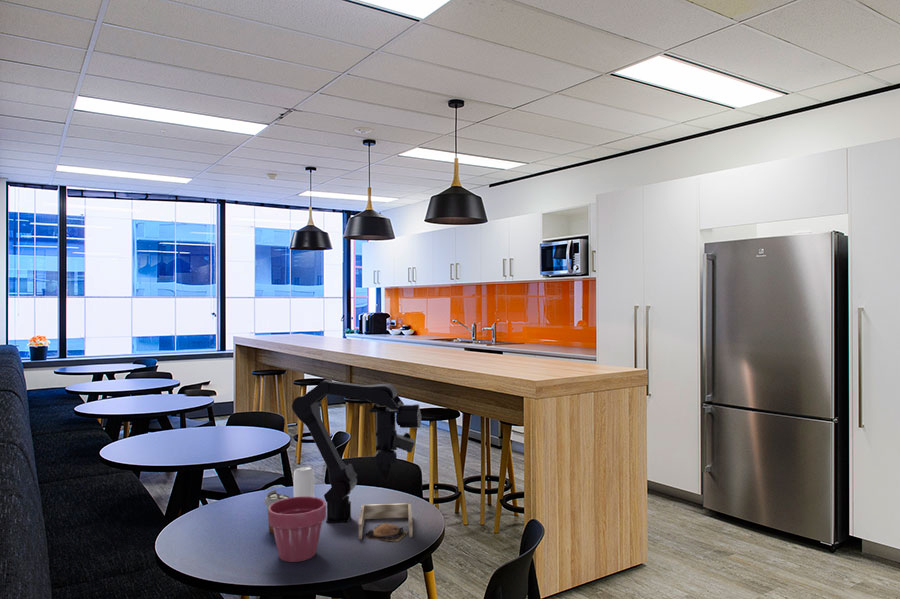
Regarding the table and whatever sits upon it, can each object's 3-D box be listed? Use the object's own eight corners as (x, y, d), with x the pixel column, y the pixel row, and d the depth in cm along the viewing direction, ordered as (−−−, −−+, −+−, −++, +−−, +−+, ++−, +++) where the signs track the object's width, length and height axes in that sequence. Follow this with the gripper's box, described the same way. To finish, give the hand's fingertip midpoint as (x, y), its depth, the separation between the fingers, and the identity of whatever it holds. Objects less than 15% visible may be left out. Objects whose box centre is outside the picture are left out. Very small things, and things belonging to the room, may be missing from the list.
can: (311, 508, 192) (311, 470, 192) (291, 508, 192) (291, 470, 192) (316, 502, 198) (316, 465, 199) (296, 502, 199) (296, 465, 199)
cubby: (358, 539, 166) (358, 524, 166) (361, 518, 183) (361, 504, 183) (412, 537, 168) (412, 522, 168) (410, 516, 184) (410, 503, 184)
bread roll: (410, 534, 172) (410, 520, 172) (397, 544, 164) (397, 530, 164) (376, 529, 175) (376, 516, 175) (361, 539, 167) (361, 526, 167)
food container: (256, 529, 174) (255, 494, 174) (275, 523, 179) (275, 489, 179) (279, 540, 166) (279, 503, 166) (299, 533, 171) (299, 497, 171)
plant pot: (277, 571, 146) (277, 517, 146) (261, 551, 158) (261, 502, 158) (334, 558, 154) (334, 507, 154) (315, 540, 166) (314, 493, 166)
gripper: (414, 432, 172) (414, 488, 172) (412, 420, 191) (412, 471, 191) (374, 433, 171) (374, 489, 171) (376, 421, 190) (376, 472, 190)
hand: (386, 480), depth 181 cm, fingers closed
